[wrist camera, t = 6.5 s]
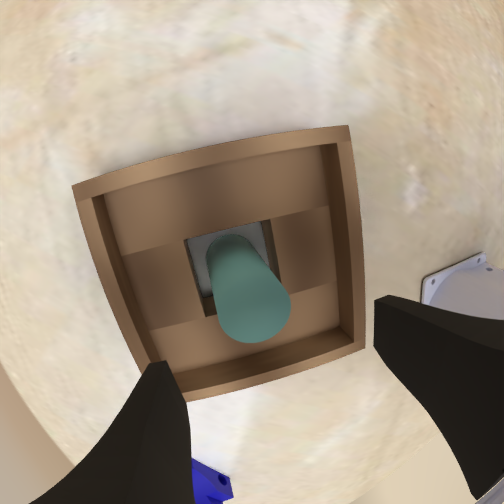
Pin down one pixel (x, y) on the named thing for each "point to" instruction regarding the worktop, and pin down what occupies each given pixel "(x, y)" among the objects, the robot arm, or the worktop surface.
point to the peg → (245, 291)
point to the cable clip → (210, 485)
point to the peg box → (220, 218)
